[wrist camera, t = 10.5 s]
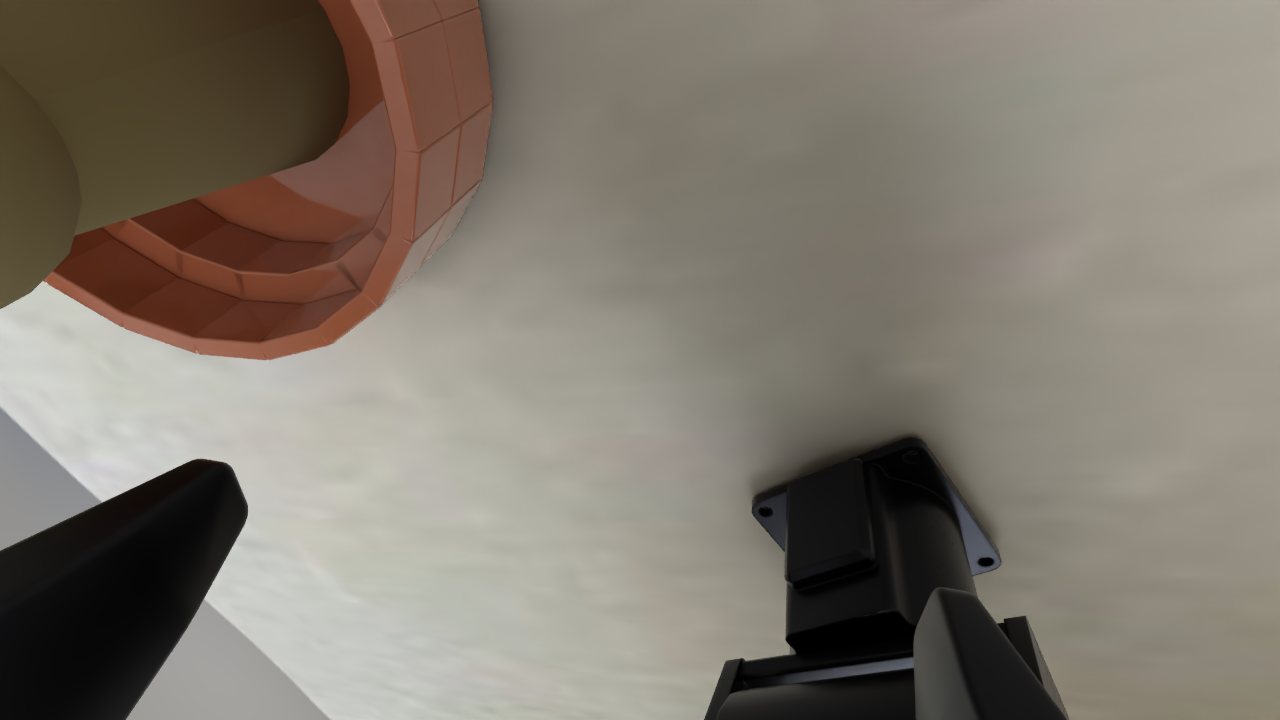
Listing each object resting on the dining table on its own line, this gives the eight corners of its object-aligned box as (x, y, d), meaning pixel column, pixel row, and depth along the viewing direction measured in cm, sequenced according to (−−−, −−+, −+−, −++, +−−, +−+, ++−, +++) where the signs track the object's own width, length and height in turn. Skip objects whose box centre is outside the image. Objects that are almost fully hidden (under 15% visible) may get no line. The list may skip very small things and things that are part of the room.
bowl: (604, 113, 19) (548, 177, 15) (313, 343, 25) (220, 430, 21) (156, -491, 14) (-117, -648, 10) (-58, -7, 20) (-271, 21, 16)
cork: (207, 173, 21) (-218, 380, 12) (98, -52, 18) (-581, 11, 9) (380, 159, 20) (41, 381, 11) (296, -88, 17) (-281, -55, 8)
